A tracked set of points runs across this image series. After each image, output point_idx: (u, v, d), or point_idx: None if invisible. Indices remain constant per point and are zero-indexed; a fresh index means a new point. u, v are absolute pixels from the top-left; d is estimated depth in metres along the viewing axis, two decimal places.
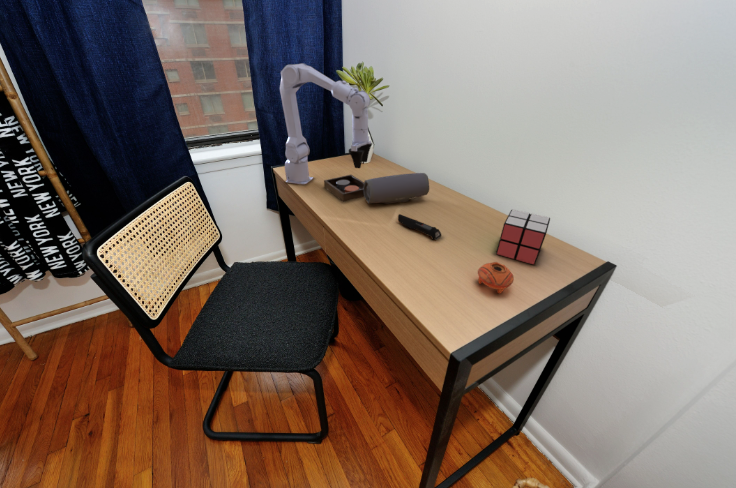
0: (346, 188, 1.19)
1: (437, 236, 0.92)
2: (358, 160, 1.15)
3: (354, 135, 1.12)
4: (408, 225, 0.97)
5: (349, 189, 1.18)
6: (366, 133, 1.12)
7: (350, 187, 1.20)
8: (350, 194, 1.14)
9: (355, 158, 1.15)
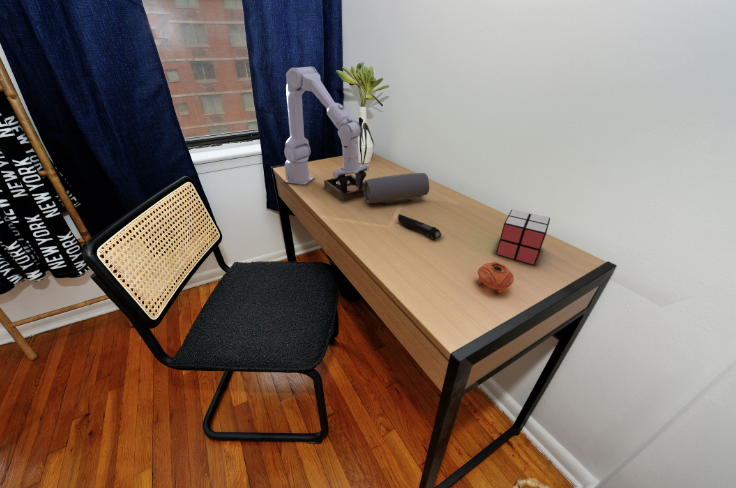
0: None
1: (437, 236, 0.92)
2: (344, 186, 1.16)
3: (343, 162, 1.14)
4: (408, 225, 0.97)
5: (349, 189, 1.18)
6: (352, 162, 1.11)
7: (350, 187, 1.20)
8: (350, 194, 1.14)
9: (342, 183, 1.17)
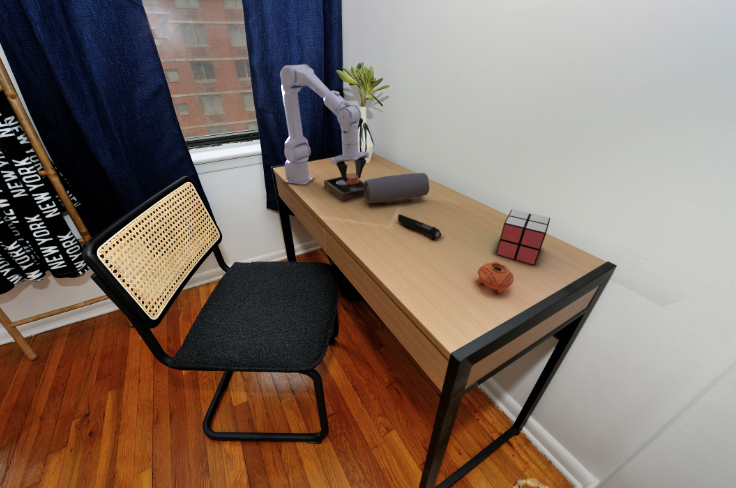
0: None
1: (437, 236, 0.92)
2: None
3: (342, 148, 1.11)
4: (408, 225, 0.97)
5: (349, 177, 1.15)
6: (351, 149, 1.08)
7: (350, 175, 1.17)
8: (350, 194, 1.14)
9: (342, 170, 1.14)
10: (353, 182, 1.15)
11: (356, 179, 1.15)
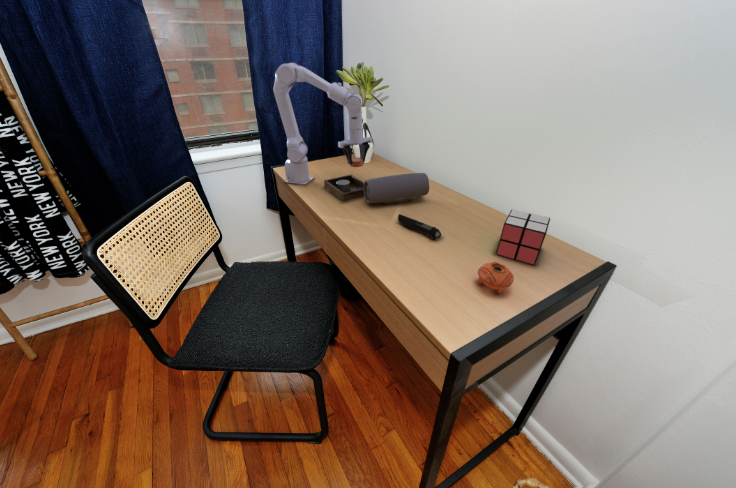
0: None
1: (437, 236, 0.92)
2: (349, 157, 1.24)
3: (348, 133, 1.21)
4: (408, 225, 0.97)
5: (354, 160, 1.25)
6: (356, 133, 1.19)
7: (354, 158, 1.27)
8: (350, 194, 1.14)
9: (347, 154, 1.24)
10: (358, 165, 1.25)
11: (360, 162, 1.25)
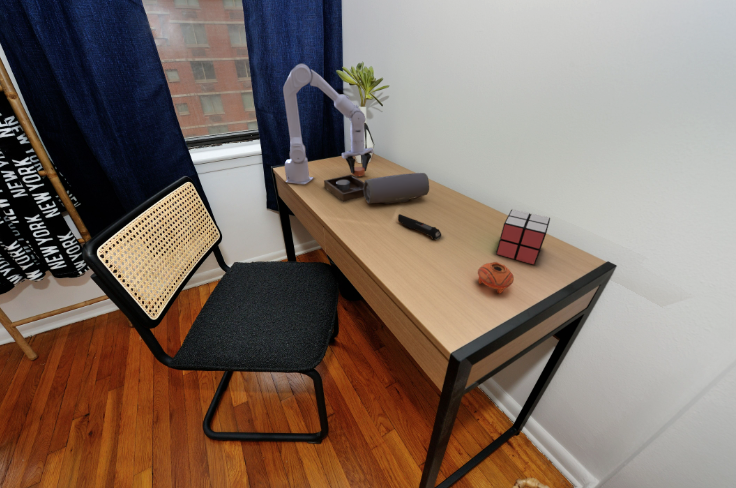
0: None
1: (437, 236, 0.92)
2: (352, 166, 1.32)
3: (351, 145, 1.30)
4: (408, 225, 0.97)
5: (356, 169, 1.34)
6: (359, 145, 1.27)
7: (357, 168, 1.36)
8: (350, 194, 1.14)
9: (350, 164, 1.33)
10: (360, 174, 1.34)
11: (362, 171, 1.34)
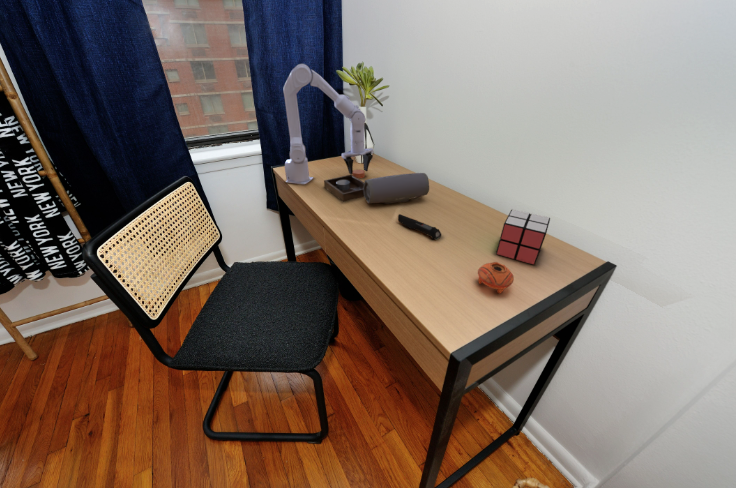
0: (353, 171, 1.35)
1: (437, 236, 0.92)
2: (350, 167, 1.32)
3: (351, 145, 1.30)
4: (408, 225, 0.97)
5: (356, 172, 1.35)
6: (359, 145, 1.27)
7: (357, 171, 1.36)
8: (350, 194, 1.14)
9: (348, 165, 1.32)
10: (360, 177, 1.35)
11: (363, 174, 1.35)
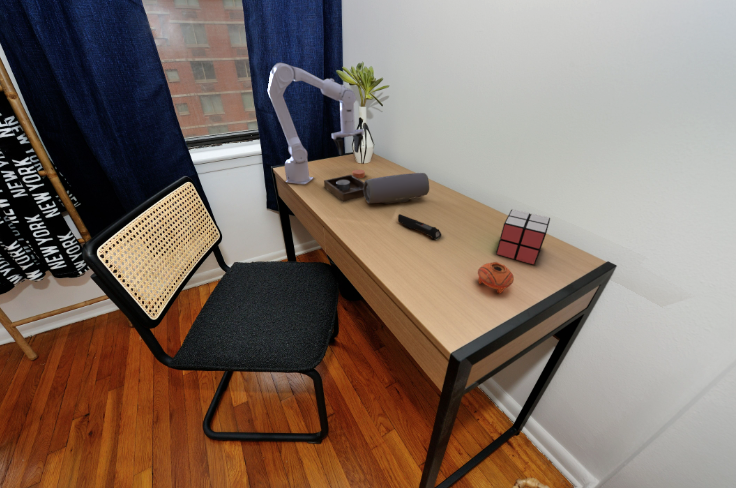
0: (353, 171, 1.35)
1: (437, 236, 0.92)
2: (340, 148, 1.31)
3: (341, 125, 1.29)
4: (408, 225, 0.97)
5: (356, 172, 1.35)
6: (348, 125, 1.26)
7: (357, 171, 1.36)
8: (350, 194, 1.14)
9: (338, 146, 1.31)
10: (360, 177, 1.35)
11: (363, 174, 1.35)
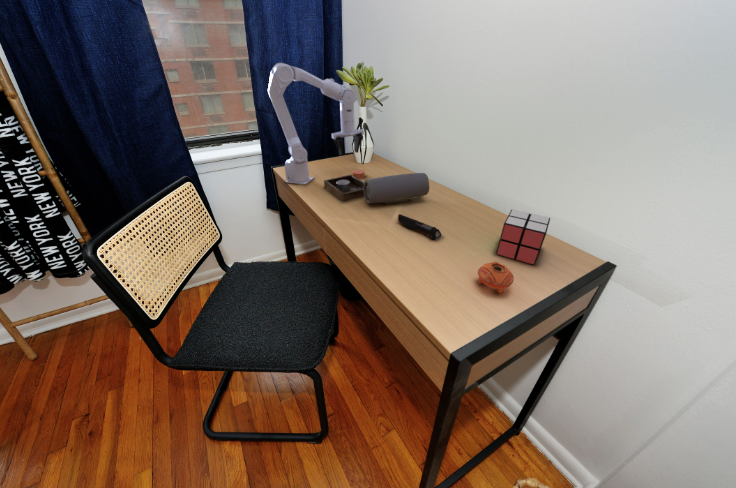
0: (353, 171, 1.35)
1: (437, 236, 0.92)
2: (340, 148, 1.31)
3: (341, 125, 1.29)
4: (408, 225, 0.97)
5: (356, 172, 1.35)
6: (348, 125, 1.26)
7: (357, 171, 1.36)
8: (350, 194, 1.14)
9: (338, 146, 1.31)
10: (360, 177, 1.35)
11: (363, 174, 1.35)
